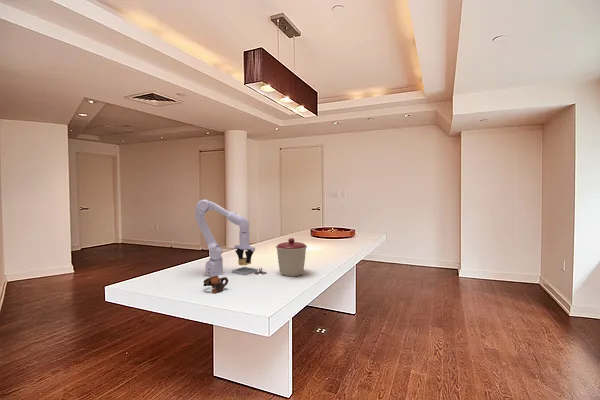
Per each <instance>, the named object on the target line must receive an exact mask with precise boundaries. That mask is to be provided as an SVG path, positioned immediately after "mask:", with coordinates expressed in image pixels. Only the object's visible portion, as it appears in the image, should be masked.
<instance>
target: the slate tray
mask: <svg viewBox="0 0 600 400" xmlns="http://www.w3.org/2000/svg"><path fill="white" fill-rule="evenodd" d="M255 272H259V268H255V267H248V266H243V267H239V268H237V269H233V270H231V274H236V275H241V276H248V275H251V274H254V273H255Z"/></svg>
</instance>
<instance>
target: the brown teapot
mask: <svg viewBox="0 0 600 400" xmlns="http://www.w3.org/2000/svg"><path fill="white" fill-rule="evenodd" d="M224 281H225V282H224ZM228 284H229V279H228V277H226V276H223V277H219V275H217V276H209V277H208V278H205V279H204V280H203V287H211V291H212V294H216V293H220V292H223V291H224V288H225V287H226V286H228Z"/></svg>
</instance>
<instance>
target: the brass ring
mask: <svg viewBox="0 0 600 400" xmlns="http://www.w3.org/2000/svg"><path fill="white" fill-rule="evenodd" d="M251 264H252V259H251V260H250V263H247V260H246V256H245V257H244V256H243V258H240V259H239V258H238V265H239V266H247V265H251Z"/></svg>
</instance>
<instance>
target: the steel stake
mask: <svg viewBox="0 0 600 400" xmlns="http://www.w3.org/2000/svg"><path fill="white" fill-rule="evenodd" d="M253 274H254V275H256V276H257V275H258V276H264V275H266V274H268V273H267V272H266V271H263V268H262V267H259V268H258V271H257V272H254V273H253Z"/></svg>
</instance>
